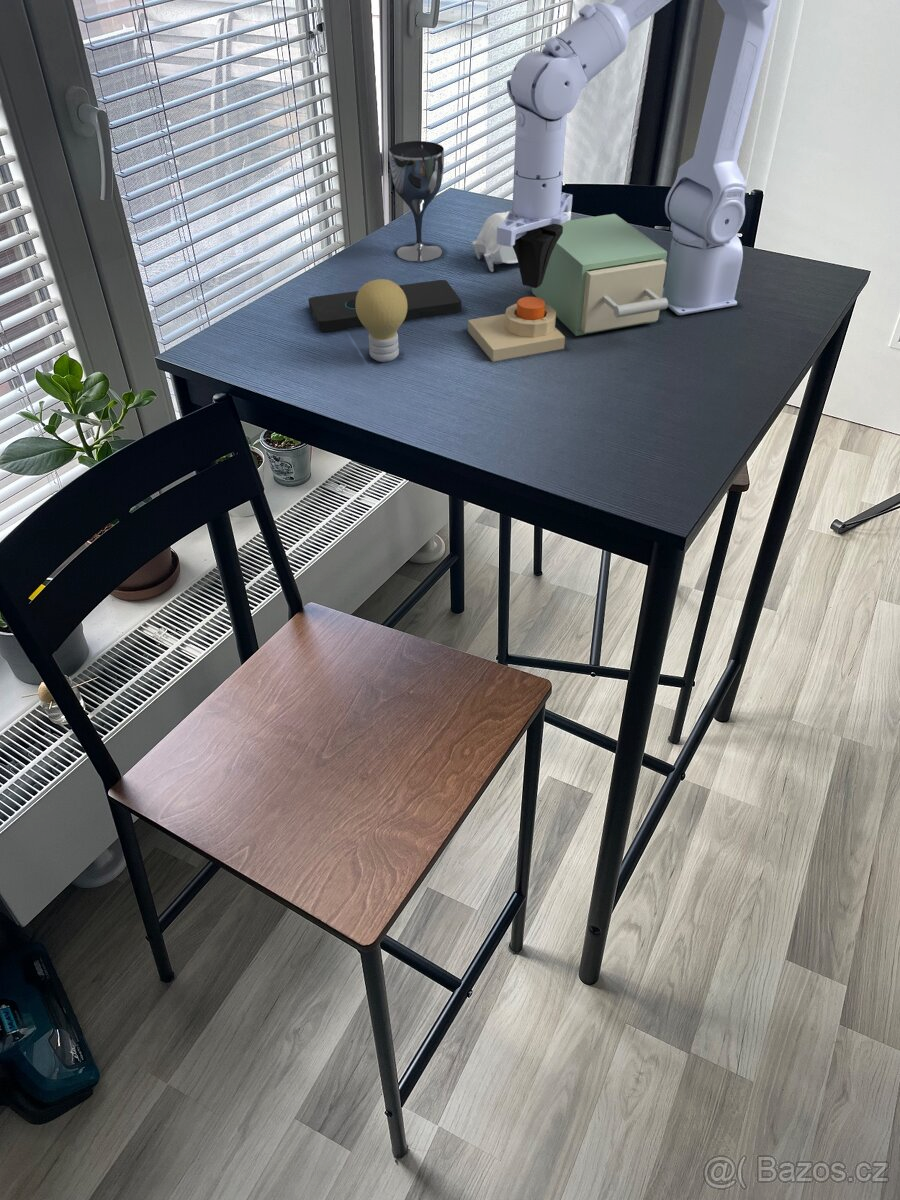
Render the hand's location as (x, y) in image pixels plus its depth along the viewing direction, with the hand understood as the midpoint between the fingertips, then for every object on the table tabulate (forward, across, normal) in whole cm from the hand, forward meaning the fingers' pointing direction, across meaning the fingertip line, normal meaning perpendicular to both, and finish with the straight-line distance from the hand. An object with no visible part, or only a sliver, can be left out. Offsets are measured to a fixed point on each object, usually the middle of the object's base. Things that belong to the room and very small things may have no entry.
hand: (532, 284), depth 116 cm
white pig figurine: (+7, +22, +14) cm, 27 cm away
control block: (+7, -2, +1) cm, 8 cm away
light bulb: (+8, -15, +13) cm, 21 cm away
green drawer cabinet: (+7, +13, -2) cm, 15 cm away
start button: (+4, 0, 0) cm, 4 cm away
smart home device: (+8, -4, +21) cm, 22 cm away
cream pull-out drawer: (+6, +11, -6) cm, 14 cm away
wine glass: (+7, +15, +29) cm, 34 cm away
